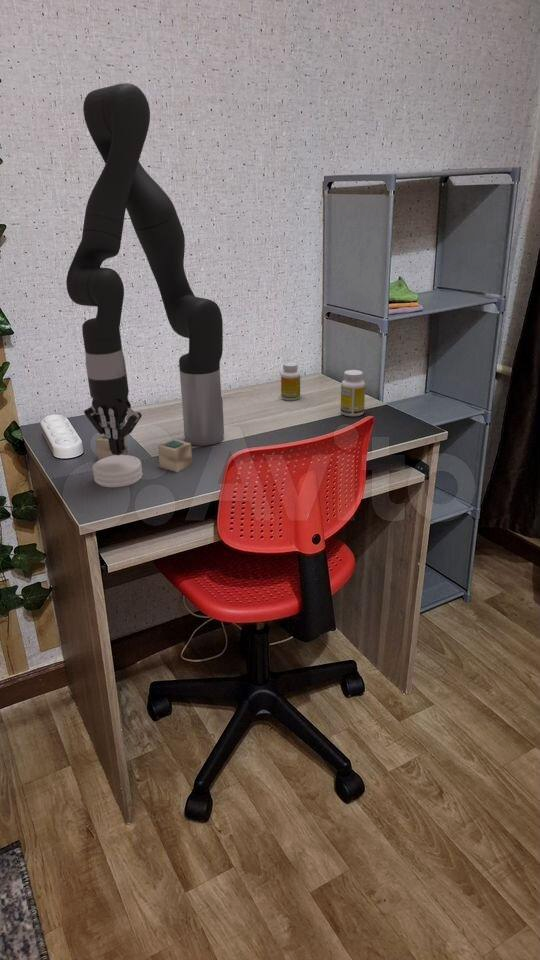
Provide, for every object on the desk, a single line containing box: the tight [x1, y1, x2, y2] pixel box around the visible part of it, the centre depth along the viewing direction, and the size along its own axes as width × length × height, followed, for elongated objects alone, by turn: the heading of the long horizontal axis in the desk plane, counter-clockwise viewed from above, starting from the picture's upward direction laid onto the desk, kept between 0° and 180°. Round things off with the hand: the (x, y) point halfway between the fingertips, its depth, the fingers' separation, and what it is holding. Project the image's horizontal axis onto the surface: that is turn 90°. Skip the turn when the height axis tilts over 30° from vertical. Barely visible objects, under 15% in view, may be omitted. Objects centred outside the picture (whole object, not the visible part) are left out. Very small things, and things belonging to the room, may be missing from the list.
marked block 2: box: [157, 438, 193, 473], centre depth 146 cm, size 5×5×5 cm
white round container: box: [92, 454, 143, 488], centre depth 141 cm, size 10×10×4 cm
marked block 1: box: [95, 434, 129, 461], centre depth 151 cm, size 5×5×5 cm
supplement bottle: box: [280, 361, 301, 401], centre depth 187 cm, size 5×5×10 cm
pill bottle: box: [340, 369, 366, 417], centre depth 174 cm, size 6×6×11 cm
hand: (117, 453), depth 139 cm, fingers closed
